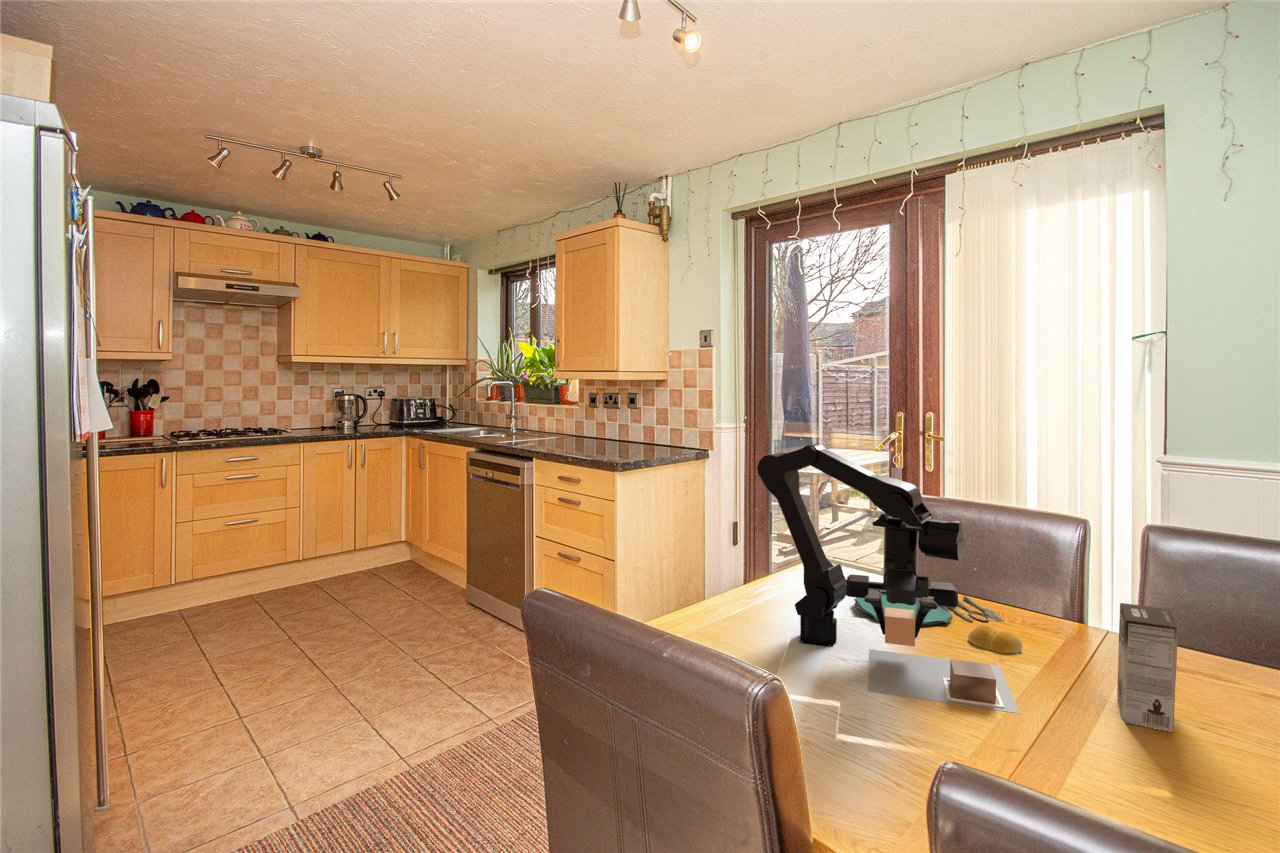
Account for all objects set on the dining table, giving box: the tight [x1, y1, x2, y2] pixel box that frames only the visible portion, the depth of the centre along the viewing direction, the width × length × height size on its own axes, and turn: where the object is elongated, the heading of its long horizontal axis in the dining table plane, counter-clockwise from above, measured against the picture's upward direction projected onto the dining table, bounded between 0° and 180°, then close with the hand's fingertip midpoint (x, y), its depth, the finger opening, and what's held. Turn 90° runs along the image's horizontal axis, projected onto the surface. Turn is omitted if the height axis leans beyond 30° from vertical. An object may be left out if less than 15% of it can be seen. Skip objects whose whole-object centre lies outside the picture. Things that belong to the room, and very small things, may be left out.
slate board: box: [867, 649, 1021, 714], centre depth 111 cm, size 22×18×1 cm
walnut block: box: [949, 658, 996, 704], centre depth 105 cm, size 6×6×4 cm
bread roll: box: [967, 624, 1023, 655], centre depth 125 cm, size 8×9×4 cm
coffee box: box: [1116, 602, 1179, 733], centre depth 98 cm, size 9×6×16 cm
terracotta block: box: [884, 607, 916, 647], centre depth 118 cm, size 5×5×5 cm
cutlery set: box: [853, 593, 1005, 627], centre depth 144 cm, size 20×30×2 cm, turn 93°
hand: (899, 635), depth 118 cm, fingers closed on terracotta block, 5 cm apart
